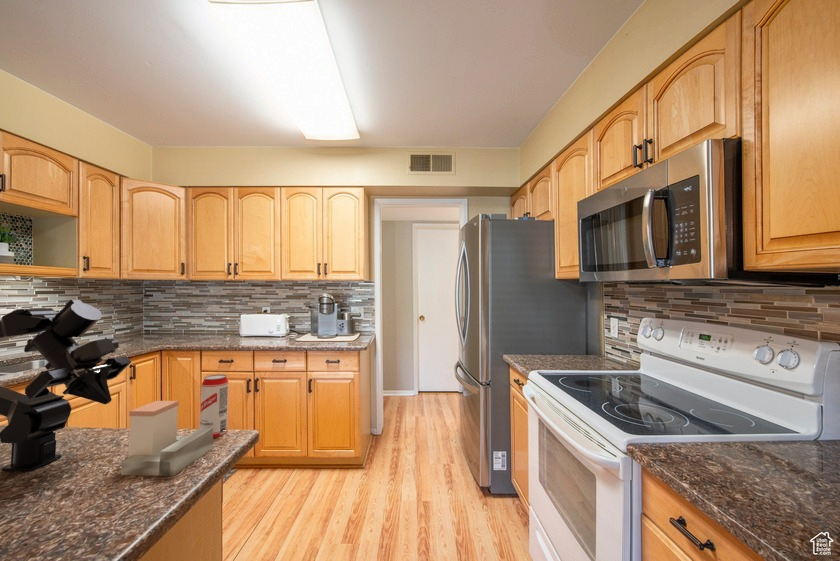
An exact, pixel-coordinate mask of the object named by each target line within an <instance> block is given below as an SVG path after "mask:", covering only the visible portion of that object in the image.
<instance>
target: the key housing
mask: <svg viewBox="0 0 840 561" xmlns="http://www.w3.org/2000/svg"><path fill="white" fill-rule="evenodd" d="M213 439H214V437H213V428H200V427H199V428H198V429H197V430H195V431H193V432H191V433H190V434H187V435H182V436H181V435H177V438H176V442H175V443H174V444H172V445H170V446H169V447H167V448H165V449H163V450H162V451H160V456H142V455H132V456H130V457H128V456H127V457H126V458H124V459H122V460H121V467H120V468H121V471H120V475H121V476H159V477H161V476H165V477H166V476H171V477H172V476H173V477H174V476H175V475H178V473H180V472H181V471H183V470H184V469H186V468H187V467H188V466H190V465H191V464H192V463H194V462H196V461H197V460H199V459H200V458H201V457H202V456H204V455H205V454H207V453H208V452H210V451H211V450H212V449H213V443H214V440H213Z"/></svg>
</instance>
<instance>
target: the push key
mask: <svg viewBox="0 0 840 561" xmlns="http://www.w3.org/2000/svg"><path fill="white" fill-rule="evenodd" d="M179 401H180V400H179ZM179 401H178V400H155V401H153V402H150V403H147V404H144V405H143V406H139V407H136V408H134V409H132V410H130V411H129V414H128V415H129V433H128V435H129V439H128V456H127V458H128V457H130V456H132V455H142V456H160V451H162V450H163V449H165V448H167V447H169V446H170V445H172V444H174V443H175V442H176V438H177V436H178V435H177V434H178V414H179V413H178V410H179V409H178V408H179Z"/></svg>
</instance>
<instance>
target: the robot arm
mask: <svg viewBox="0 0 840 561" xmlns="http://www.w3.org/2000/svg"><path fill="white" fill-rule="evenodd" d="M102 317H103V314H102V312H101V310H99V309H98V308H96V307H94V306H92V305H90V304H88V303H85V302H83V301H82V300H80V299H70V300H69V301H67V302H66V304H65V305H64V307H63V308H62V309H61V310H60V311H58V312H57V311H56V310H55V309H53V308H51V307H44V308H43V307H40V308H19V309H18V308H17V309H15V310H13V311H10V312H8V313H6V314H4V315H2V317H1V318H0V342H2V341H5V340H8V339H9V340H10V339H13V338H16V337H20V336H30V335H35V336H34V337H33V338H31V339H28V340H27V341H26V345H25V346H24V348H23V352H24V353H30V352H31V353H32V352H38V353H39V354H40V355H41V356H42V357H43V358H44V359H45V361H47V363H46V364H45V365H44V368H45V369H46V370H43V371H41V372H39V373H38V375H37V376H36V377H34V379H32V380H31V381H30V382H29V383H28V384H27V385H26V386H25V388H24V393H21V392H18V391H15V390H14V389H13V390H12V389H10V388H7V387H4V386H1V385H0V416H4V417H5V418H6V421H7V425H6V426H5V427H4V428H3V429H2V430H1V431H0V443H1V444H11V455H10V464H7V465H5V466H2V467H1V471H22V472H23V471H25V472H26V471H27V472H29V471H33V470H35V469H37V468H40V467H42V466H44V465H46V464H49V463H51V462H53V461H55V460H58V459H61V458H62V454H56V452H57V439H56V435H57V434H56V431H58V430H63V429H65V427H66V424H67V422H68V420H69V418H70V415H71V412H72V406H71V404H70V401H69V400H67V399H65V398H64V397H65V395H70V396H74V397H79V398H82V399H86V400H89V401H93V402H96V403H99V404H102V405H107V404H110V403H111V402H112V397H111V392H110V389H109V385H108V381H111V380H113V379H115V378H117V377H118V376H119V375H120V374H121V373H123V371H124V370H125V369H126V368H127V367H128V366H130V365H131V363H132V361H131V360H130V358H128V357H127V356H126V355H120V356H115V357H109V358H107V359H106V361H104V363H102V364H101V365H99V366H97V364H99V363H101V362H102V361H103V360H104V358H103V357H105V356H107V355H109V354H113V353H115V352H116V351H117V350H118V348H119V346H120V344H119V341H118V340H117V339H116V338H114V336H106V337H104V338H102V339H96V340H92V341H90V342H87V343H85V344H81V345H80V344H79V343H78V342H77V341H76V340H75V339H74V338H81V337H83V336H84V335H85V334H86V333H87V332H88V331H89V330H90V329H91V328H92V327H93V326H94V325H96V323H98V322H99V320H100V319H102ZM61 385H64V387H65V388H66V389H64V390H63V391H62V395H60V394H55V393H54V392H52V391H50V389H49V388H50V387H51V388H52V387H56V386H61Z"/></svg>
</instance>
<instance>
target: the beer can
mask: <svg viewBox="0 0 840 561" xmlns="http://www.w3.org/2000/svg"><path fill="white" fill-rule="evenodd" d="M203 378H204V380H203V381H202V383H201V387H200V389H201V390H200V392H201V393H200V410H199V412H200V413H199V414H200V415H199V416H200V418H199V429H200V428H213V438H217V437H221V436H223V435H225V434H227V432H228V422H229V420H228V419H229V418H228V417H229V416H228V415H229V389H230V388H229V384H230V383H229V380H228V378H227V375H226V374H220V373H219V374H211V375H207V376H204V377H203ZM223 430H227V431H223Z"/></svg>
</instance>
